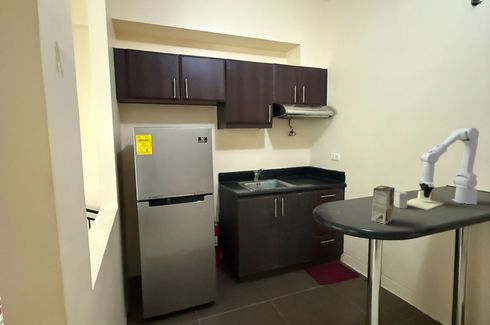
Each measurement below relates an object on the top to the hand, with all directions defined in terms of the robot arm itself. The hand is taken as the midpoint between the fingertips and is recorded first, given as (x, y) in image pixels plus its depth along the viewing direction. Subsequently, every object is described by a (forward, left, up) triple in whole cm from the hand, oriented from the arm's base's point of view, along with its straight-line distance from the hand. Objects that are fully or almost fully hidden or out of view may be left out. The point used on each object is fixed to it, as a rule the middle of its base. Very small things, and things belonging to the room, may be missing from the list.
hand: (425, 196), depth 149 cm
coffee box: (+29, +40, -4) cm, 50 cm away
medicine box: (+16, +12, -4) cm, 20 cm away
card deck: (0, 0, -1) cm, 1 cm away
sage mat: (+2, +2, -4) cm, 5 cm away
